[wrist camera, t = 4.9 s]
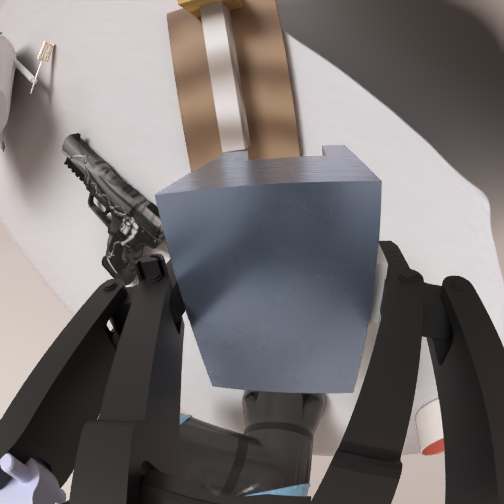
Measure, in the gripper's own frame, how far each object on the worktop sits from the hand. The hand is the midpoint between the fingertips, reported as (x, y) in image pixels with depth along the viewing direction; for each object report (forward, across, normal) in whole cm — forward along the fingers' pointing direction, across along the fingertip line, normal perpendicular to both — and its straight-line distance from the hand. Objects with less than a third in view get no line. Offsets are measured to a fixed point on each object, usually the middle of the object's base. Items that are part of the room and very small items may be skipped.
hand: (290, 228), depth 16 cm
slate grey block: (0, 0, 0) cm, 0 cm away
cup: (+15, -30, +48) cm, 58 cm away
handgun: (+16, +27, +2) cm, 31 cm away
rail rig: (+16, +6, -11) cm, 20 cm away
